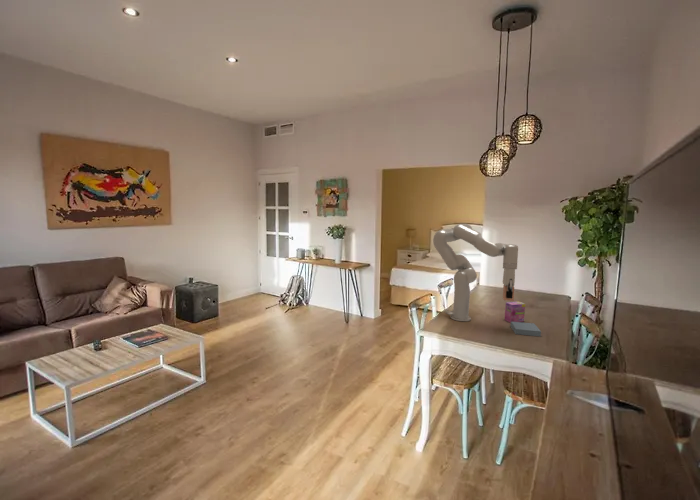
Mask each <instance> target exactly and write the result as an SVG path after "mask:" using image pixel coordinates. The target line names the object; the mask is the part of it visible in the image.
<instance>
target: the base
mask: <svg viewBox="0 0 700 500" xmlns="http://www.w3.org/2000/svg"><path fill="white" fill-rule="evenodd" d="M510 328H511V329H512V331H513V333H514V334H515V335H520V336H531V337H542V335H541V334H542V331H541V330H540V328H539V327H538V326H537V325H536V324H535V323H533V322H511V323H510Z"/></svg>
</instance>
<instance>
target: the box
mask: <svg viewBox="0 0 700 500" xmlns="http://www.w3.org/2000/svg"><path fill="white" fill-rule="evenodd" d="M525 312H526V303H524V302H521V301H505V309H504V320H503V321H506V322H508V323H510V324H511V322H522V323H525V322H524V321H525Z"/></svg>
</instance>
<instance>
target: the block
mask: <svg viewBox="0 0 700 500" xmlns="http://www.w3.org/2000/svg"><path fill="white" fill-rule="evenodd" d="M508 286H510V285H508ZM508 288H509V287H508ZM506 291H507V285H506V286H505V285H504V284H503V288H502V299H503V300H504V301H507V302H515V300H514V299H515V298H514V297H515V285H514V286H513V294H512V298H506Z"/></svg>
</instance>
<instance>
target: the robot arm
mask: <svg viewBox="0 0 700 500" xmlns="http://www.w3.org/2000/svg"><path fill="white" fill-rule="evenodd" d="M459 240H463V241H464V242H466V243H468V244H470V245H472V246H473V247H474V248H475V249H476V250H478V251H479V252H480V253H482V254H485V255H487V256H489V257H492V258H496V257H501V256H503V259H502V269H503V274H502V275H503V276H502V284H503V285H505V286H506V285H507V291H506V298H512V294H513V286H514V287H515V282H516V270H518V257H519V246H518V245H517V244H510V243H509V244H506V243H501V242H497V243H493V242H491V241H489V240H487V239H485V238H483V236H482V233H481V232H479V231H477V230H475V229H474V228H473V227H472V226H471V225H470V224H468V223H458V224H456V225H455V226H454V227H453V228H449V229H448V228H447V229H444V228H443V229H440V230H438V231H436V232H435V233H434V236H433V239H432V241H433V246H434V248H435V250H436V251H437V253H438V254H439V256H440V257H441V259H442V260H443V262H444V264H445V265H446V266H447V268H448V269H449V270H450V271H456V272H455V273H454V275H453V284H454V285H453V287H454V291H453V293H454V294H453V306H452V307H453V308H452V310H445V314H447V315H449V316H450V319H452V320H454V321H457V322H469V321H471V320H472V317H471V316H470V313H469V311H470V298H471V296H470V295H471V287H470V284H472V283H474V282H475V281H476V280H477V276H478V275H477V272H476V270H475V268H474V267H473V266H472V264H471V262H470V261H469V260H468V258H467V257H465V256H464V255H462V254H456V252H455V251H454V249H453V248H452V247H451V246H450V245H449V244H448V243H451V242H455V241H459ZM508 285H510V286H508ZM508 287H509V288H508Z"/></svg>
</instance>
